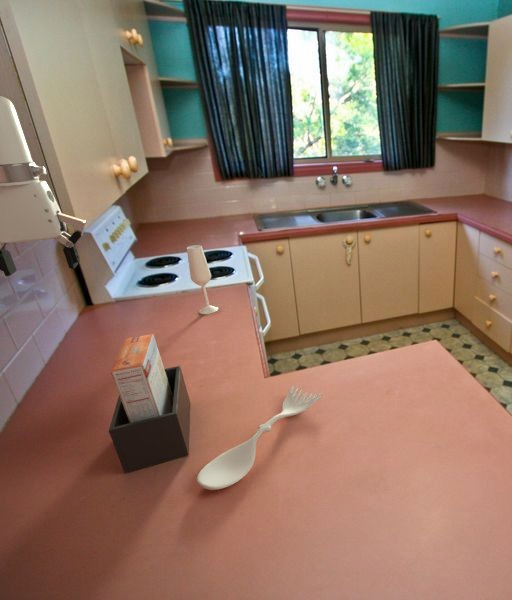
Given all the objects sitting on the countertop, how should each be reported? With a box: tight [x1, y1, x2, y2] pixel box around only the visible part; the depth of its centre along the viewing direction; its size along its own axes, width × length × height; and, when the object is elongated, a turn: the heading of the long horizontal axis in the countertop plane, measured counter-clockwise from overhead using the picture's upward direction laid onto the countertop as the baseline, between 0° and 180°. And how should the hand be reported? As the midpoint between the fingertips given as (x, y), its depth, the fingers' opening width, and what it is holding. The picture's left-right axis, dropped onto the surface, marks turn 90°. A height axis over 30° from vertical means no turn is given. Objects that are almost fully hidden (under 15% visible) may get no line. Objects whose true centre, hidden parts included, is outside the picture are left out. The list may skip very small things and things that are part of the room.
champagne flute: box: [186, 244, 219, 315], centre depth 151 cm, size 7×7×24 cm
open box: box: [108, 365, 191, 474], centre depth 92 cm, size 12×20×11 cm, turn 24°
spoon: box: [196, 384, 323, 491], centre depth 91 cm, size 9×32×4 cm, turn 155°
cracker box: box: [110, 333, 174, 423], centre depth 90 cm, size 14×6×21 cm, turn 21°
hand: (43, 270), depth 79 cm, fingers open, 9 cm apart
